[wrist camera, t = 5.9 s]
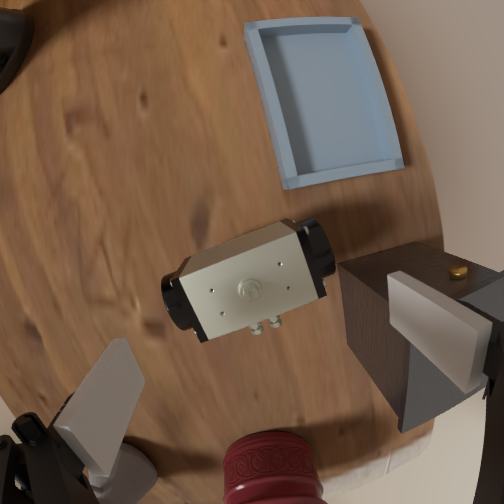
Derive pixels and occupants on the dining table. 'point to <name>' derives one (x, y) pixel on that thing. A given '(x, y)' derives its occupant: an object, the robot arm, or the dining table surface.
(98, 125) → the dining table surface
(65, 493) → the robot arm
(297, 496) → the canister
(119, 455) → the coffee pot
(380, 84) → the tray
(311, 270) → the pneumatic valve
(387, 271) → the box
